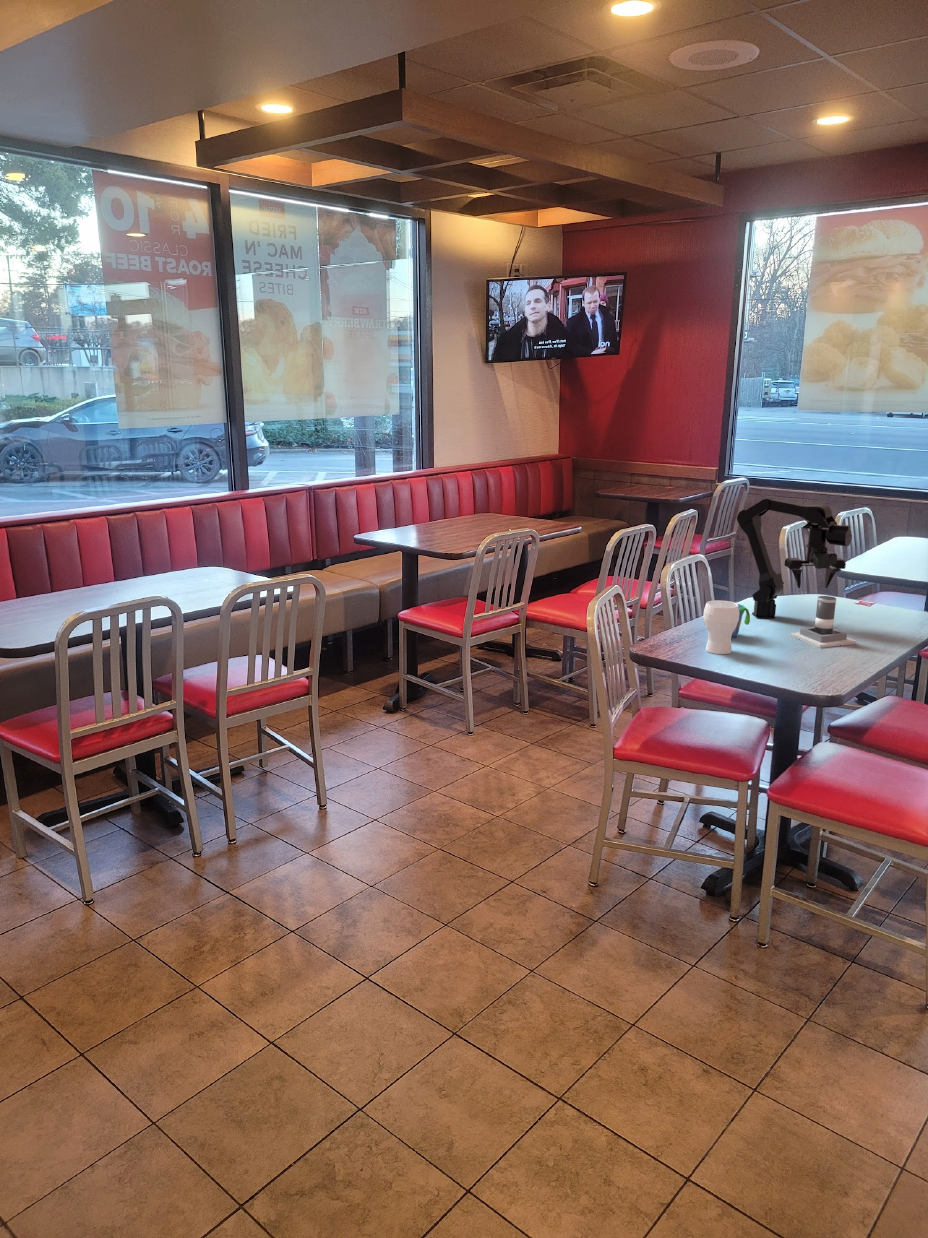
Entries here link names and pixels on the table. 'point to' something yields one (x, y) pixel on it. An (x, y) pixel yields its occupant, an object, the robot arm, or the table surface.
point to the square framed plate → (823, 638)
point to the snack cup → (747, 619)
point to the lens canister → (825, 615)
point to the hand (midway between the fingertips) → (812, 588)
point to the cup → (720, 625)
